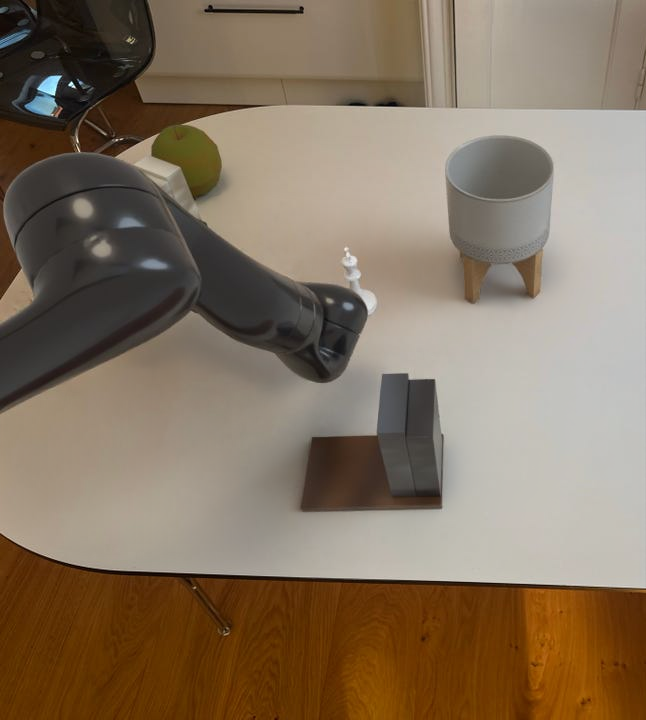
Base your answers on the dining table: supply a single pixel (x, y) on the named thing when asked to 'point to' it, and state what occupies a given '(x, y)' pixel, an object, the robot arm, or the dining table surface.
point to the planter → (499, 207)
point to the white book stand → (169, 181)
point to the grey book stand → (382, 456)
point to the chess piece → (352, 276)
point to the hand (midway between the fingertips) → (108, 238)
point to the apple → (190, 156)
